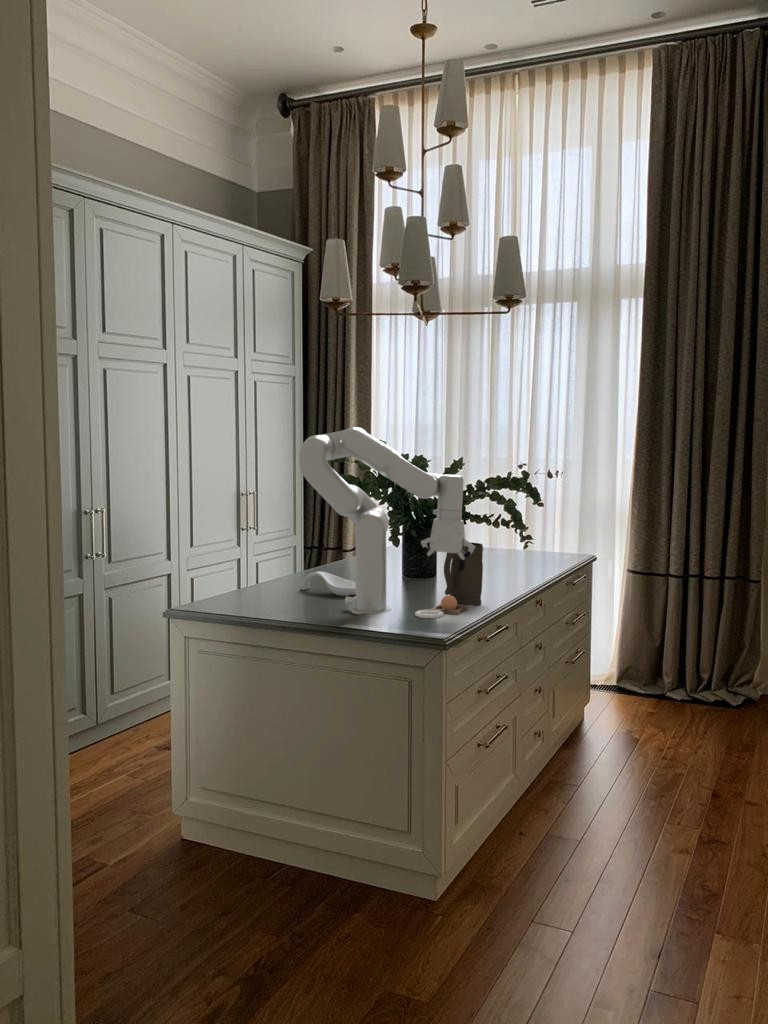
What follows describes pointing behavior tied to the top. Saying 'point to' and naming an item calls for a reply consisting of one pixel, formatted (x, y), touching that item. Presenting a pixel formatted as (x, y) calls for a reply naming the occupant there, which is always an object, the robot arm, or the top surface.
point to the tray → (457, 612)
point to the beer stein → (465, 576)
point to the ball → (449, 602)
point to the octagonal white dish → (429, 613)
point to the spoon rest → (332, 583)
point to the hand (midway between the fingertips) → (446, 570)
